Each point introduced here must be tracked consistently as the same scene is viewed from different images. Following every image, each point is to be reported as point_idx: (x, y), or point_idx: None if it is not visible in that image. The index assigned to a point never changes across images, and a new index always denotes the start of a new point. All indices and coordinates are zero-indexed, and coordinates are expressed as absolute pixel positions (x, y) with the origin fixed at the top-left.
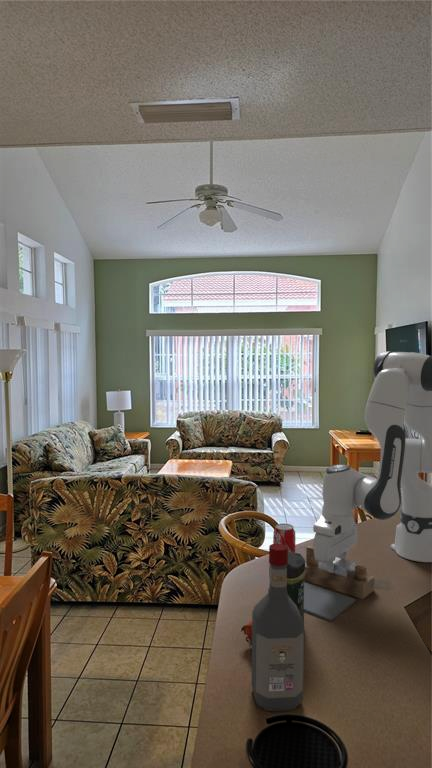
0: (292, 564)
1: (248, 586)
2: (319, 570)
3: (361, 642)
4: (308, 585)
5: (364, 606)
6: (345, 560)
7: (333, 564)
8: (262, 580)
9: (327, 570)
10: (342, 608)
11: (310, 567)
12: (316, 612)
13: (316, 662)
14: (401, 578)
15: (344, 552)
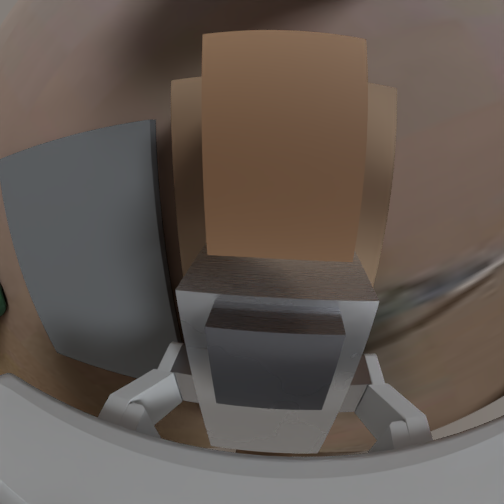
0: None
1: (22, 36)
2: (193, 259)
3: (73, 397)
4: (134, 202)
5: (185, 401)
6: (317, 429)
7: (167, 411)
8: (76, 10)
9: (171, 342)
10: (110, 368)
11: (191, 171)
12: (42, 317)
13: (3, 348)
14: (439, 404)
15: (371, 448)
